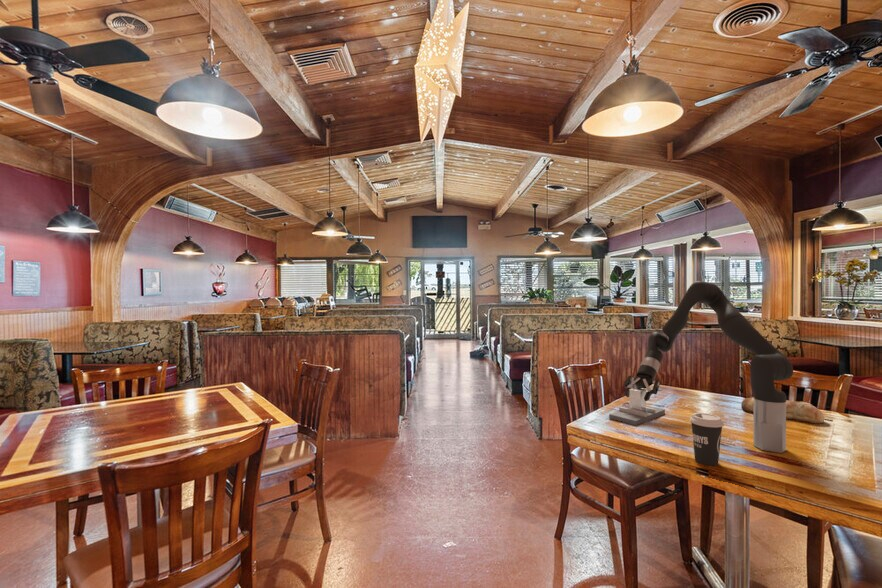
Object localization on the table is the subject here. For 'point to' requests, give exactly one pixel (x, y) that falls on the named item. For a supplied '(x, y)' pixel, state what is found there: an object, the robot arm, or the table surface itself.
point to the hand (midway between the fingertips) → (635, 398)
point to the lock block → (637, 399)
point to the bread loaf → (793, 411)
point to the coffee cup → (706, 437)
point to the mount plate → (636, 415)
